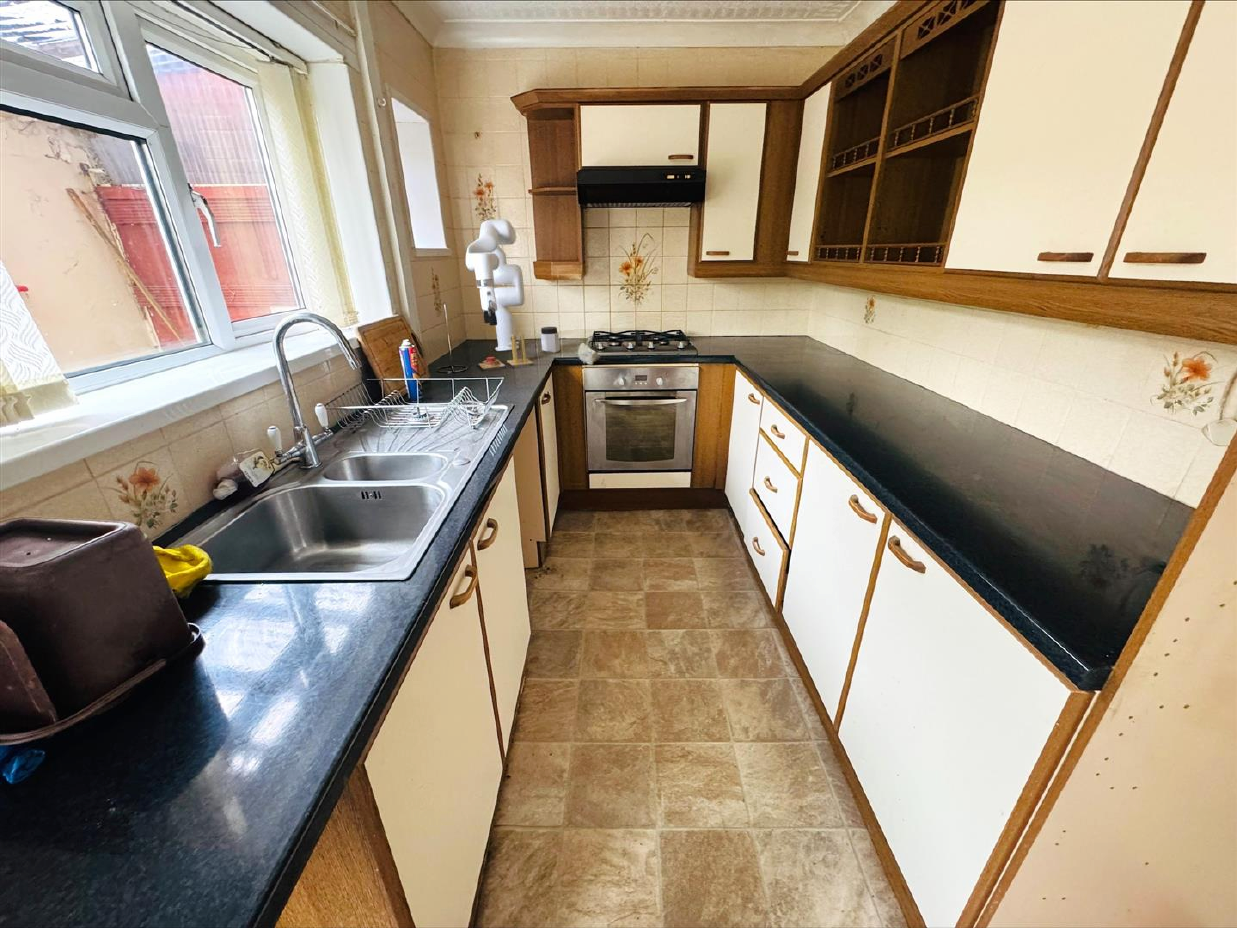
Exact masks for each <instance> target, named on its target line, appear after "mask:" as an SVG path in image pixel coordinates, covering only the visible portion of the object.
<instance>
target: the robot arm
mask: <svg viewBox="0 0 1237 928" xmlns="http://www.w3.org/2000/svg"><path fill="white" fill-rule="evenodd" d="M480 224H481V225H480V229H479V235H478V236H479V237H478V238H477V239H475V240H474V241H472V242H471V243H470V244H469V245H468V246H467V249H466V253H465V266H466V268H467V270H469V271H470V272H474V274H475V282H476V287H477V289H479V298H480V305H481V309H482V313H483V314H482V315H483V323H484V324H489V326H490V327H492V326H495V333H496V339H497V340H496V341H497V346H496V347H495V351H496V352H502V351H512V346H508V343H511V339H510V338H511V336H510V334H513V335H516V331H515V322H514V315H513V313H512V312H511V310H510V309H509V308H508V307H521V306H523V305H524V304H525V301H526V298H525V286H524V276H523V275H524V274H523V270H522V267H521V266H520V265H519V264H515V263H514V264H513V263H512V264H511V263H510V264H509V263H507V254H506V252H505V251H504V249H503V248H502V247H501V246H507V245H508V246H509V245H514V244H515V243H516V240H517V233H516V230H515V228H514V226H513V225H512V223H511V222H510V221H509V220H507V219H502V218H501V219H487V220H484V221H483V222H482V223H480ZM495 285H513V286H501V287H500V286H498V287H495ZM516 350H520V345H516Z"/></svg>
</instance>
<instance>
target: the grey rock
mask: <svg viewBox="0 0 1237 928" xmlns="http://www.w3.org/2000/svg"><path fill="white" fill-rule="evenodd" d="M577 356H578V359H579V360H580V361H581V362H582V363H583V364H584V365H586V364H587V365H589V366H593V365H594V363H596V362H597V361H598V360H599V359H600V357H601V356H600V355H599V353H598V352H597V351H595V350H594V349H593V348H591V347H590V346H589V345H587V344H586V343H584V342H581V344H580V345H579V347H578V349H577Z"/></svg>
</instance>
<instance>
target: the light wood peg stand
mask: <svg viewBox="0 0 1237 928" xmlns="http://www.w3.org/2000/svg"><path fill="white" fill-rule="evenodd" d="M515 335H516V334H515ZM515 335H513V334H510V336H511V338H510V339H511V344H512V350H511V351H512V359H509V360H506V362H507V363H508V364H510V365H511V366H513V367H514V366H521V365H528V364H535V363H534V361H532V360H531V359H529V358H528V357H527V354H526V346H525V345H526V343H525V336H524V333H521V332H519V333H518V335H520V339H521V340H520V341H519V349H520V355H521V358H518V353H517V350H518V349H516V341H515Z"/></svg>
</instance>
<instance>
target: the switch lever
mask: <svg viewBox="0 0 1237 928" xmlns="http://www.w3.org/2000/svg"><path fill="white" fill-rule="evenodd" d="M520 340H521V339H520V335H519V334H515V341H516V345H518V346H520ZM508 346H512V344H511V343H508Z"/></svg>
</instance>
